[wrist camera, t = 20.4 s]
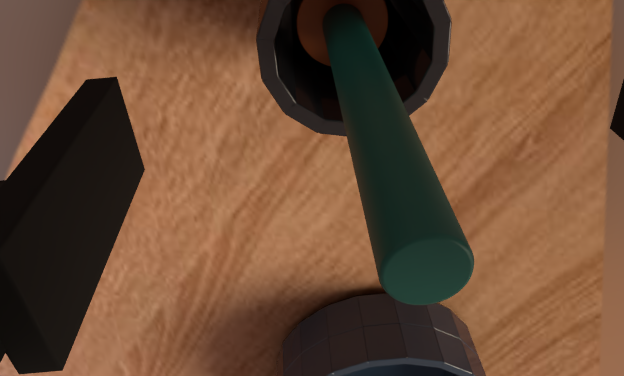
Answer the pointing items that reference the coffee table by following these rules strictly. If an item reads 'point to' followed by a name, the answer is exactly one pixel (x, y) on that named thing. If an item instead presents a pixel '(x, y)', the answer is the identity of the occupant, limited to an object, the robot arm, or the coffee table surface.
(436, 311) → the bowl
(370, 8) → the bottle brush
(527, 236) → the coffee table surface
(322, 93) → the brush pot
